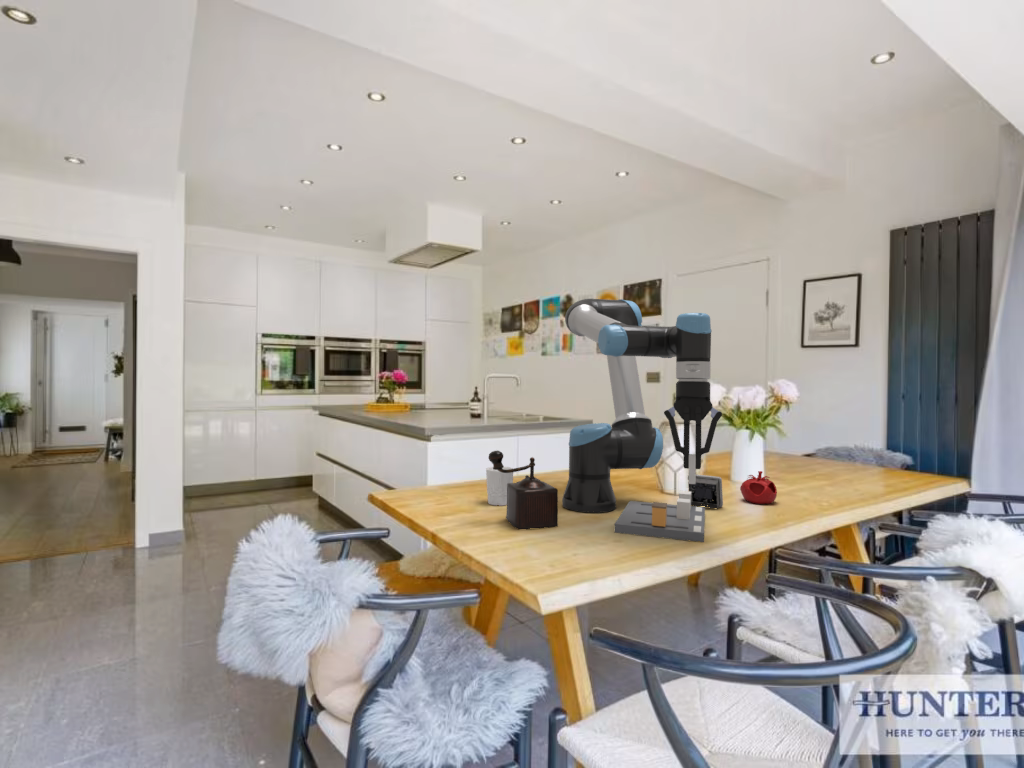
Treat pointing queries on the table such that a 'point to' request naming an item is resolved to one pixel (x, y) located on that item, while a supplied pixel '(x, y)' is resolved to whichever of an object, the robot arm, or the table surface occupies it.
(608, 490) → the robot arm
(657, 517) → the brown rectangular block
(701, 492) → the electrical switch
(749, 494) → the pomegranate
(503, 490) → the white cup
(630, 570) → the table surface
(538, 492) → the manual coffee grinder
